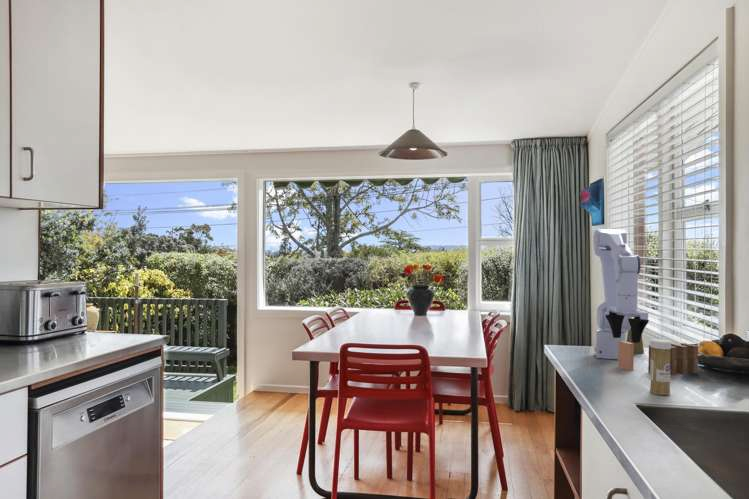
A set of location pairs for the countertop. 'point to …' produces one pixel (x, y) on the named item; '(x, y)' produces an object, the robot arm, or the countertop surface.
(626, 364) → the domino
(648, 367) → the domino
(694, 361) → the domino
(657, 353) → the toothpick jar
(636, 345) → the cork
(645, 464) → the countertop surface
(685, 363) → the domino
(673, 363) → the domino
